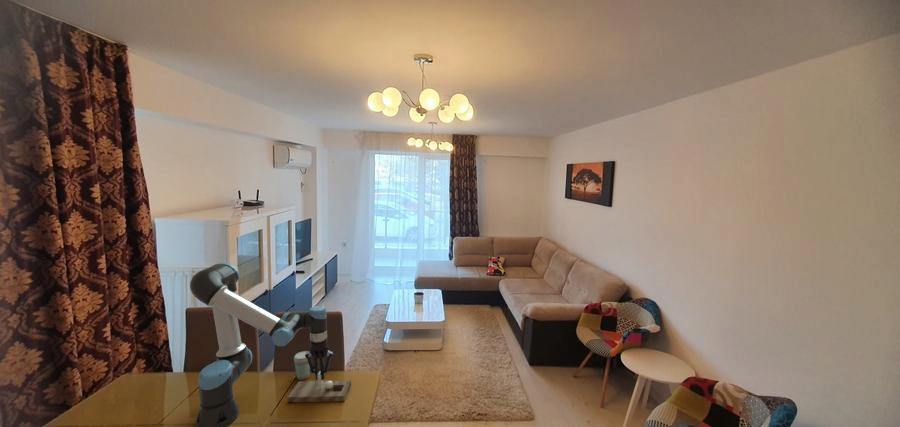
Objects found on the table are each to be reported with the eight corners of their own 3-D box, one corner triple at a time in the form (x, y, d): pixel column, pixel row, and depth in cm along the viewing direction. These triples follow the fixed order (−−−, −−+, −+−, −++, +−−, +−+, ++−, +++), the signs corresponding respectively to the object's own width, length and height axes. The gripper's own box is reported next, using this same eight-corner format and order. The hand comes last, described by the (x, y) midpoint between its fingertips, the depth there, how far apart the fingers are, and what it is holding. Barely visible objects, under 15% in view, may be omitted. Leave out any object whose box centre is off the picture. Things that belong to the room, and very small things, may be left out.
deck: (288, 402, 152) (287, 397, 151) (298, 386, 163) (298, 381, 163) (344, 401, 153) (344, 396, 152) (351, 385, 165) (351, 380, 164)
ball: (330, 391, 156) (323, 389, 156) (333, 386, 160) (325, 384, 160) (332, 384, 156) (325, 382, 156) (334, 379, 160) (327, 378, 159)
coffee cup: (305, 382, 166) (304, 360, 165) (290, 380, 168) (289, 358, 167) (315, 373, 175) (314, 351, 173) (301, 370, 176) (300, 349, 175)
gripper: (301, 343, 151) (303, 390, 154) (330, 342, 152) (331, 390, 154) (307, 335, 159) (309, 381, 161) (335, 335, 159) (336, 380, 162)
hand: (320, 385), depth 158 cm, fingers closed
